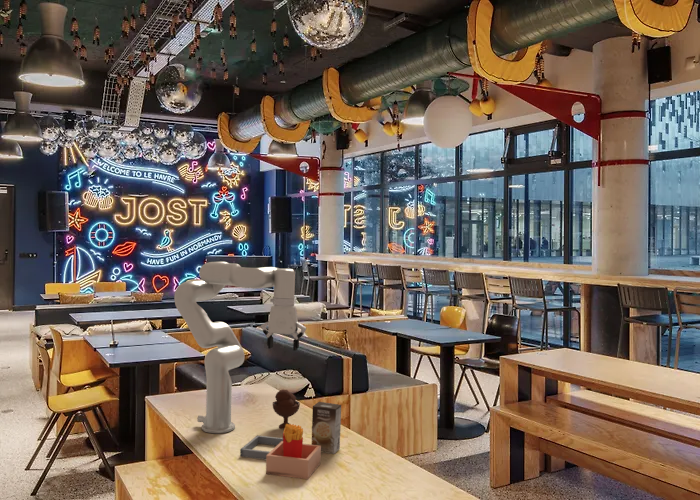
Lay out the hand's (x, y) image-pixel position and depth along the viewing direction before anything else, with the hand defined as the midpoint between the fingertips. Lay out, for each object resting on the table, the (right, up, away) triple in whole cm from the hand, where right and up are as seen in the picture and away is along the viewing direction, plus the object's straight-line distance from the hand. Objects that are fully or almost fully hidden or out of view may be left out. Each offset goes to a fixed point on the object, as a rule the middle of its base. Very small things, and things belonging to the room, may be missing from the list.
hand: (283, 348), depth 230 cm
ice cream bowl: (-1, -34, +18) cm, 38 cm away
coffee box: (+16, -35, -6) cm, 39 cm away
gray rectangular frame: (-5, -35, -9) cm, 36 cm away
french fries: (+6, -35, -24) cm, 42 cm away
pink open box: (+6, -35, -24) cm, 43 cm away
